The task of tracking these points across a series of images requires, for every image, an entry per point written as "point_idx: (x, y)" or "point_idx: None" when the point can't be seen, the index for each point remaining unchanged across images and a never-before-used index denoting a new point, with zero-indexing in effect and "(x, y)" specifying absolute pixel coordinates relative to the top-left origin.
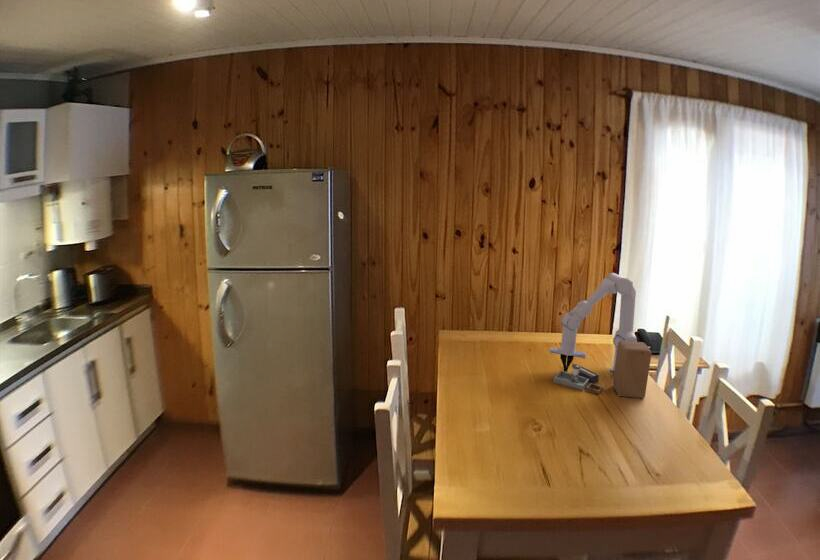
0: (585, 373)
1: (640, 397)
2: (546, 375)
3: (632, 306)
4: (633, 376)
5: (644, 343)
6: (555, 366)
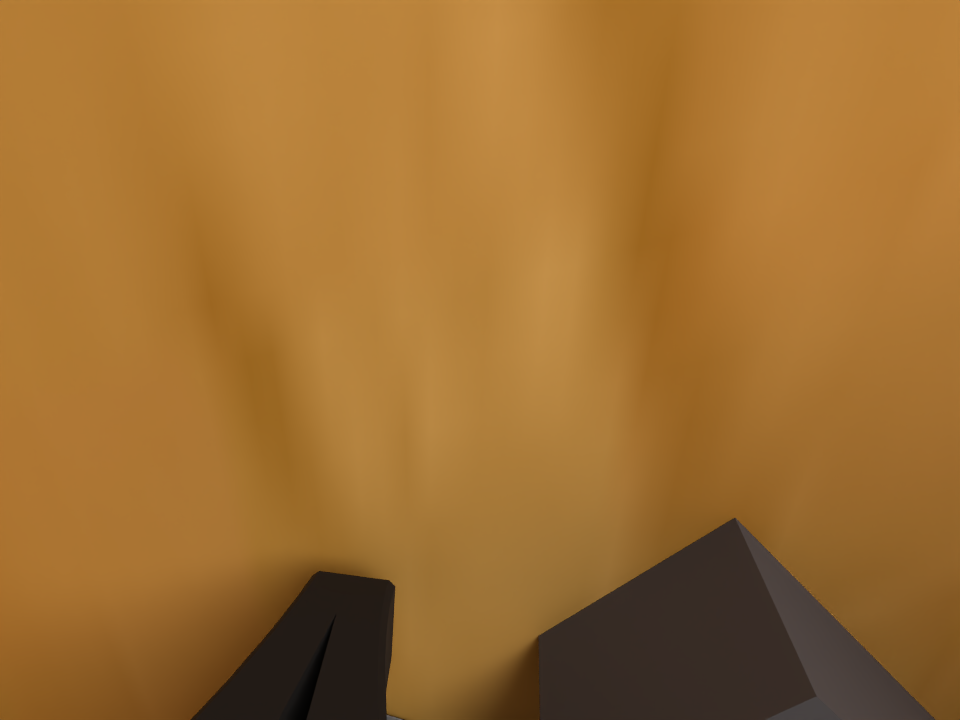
0: None
1: None
2: (58, 715)
3: None
4: None
5: None
6: (79, 285)
